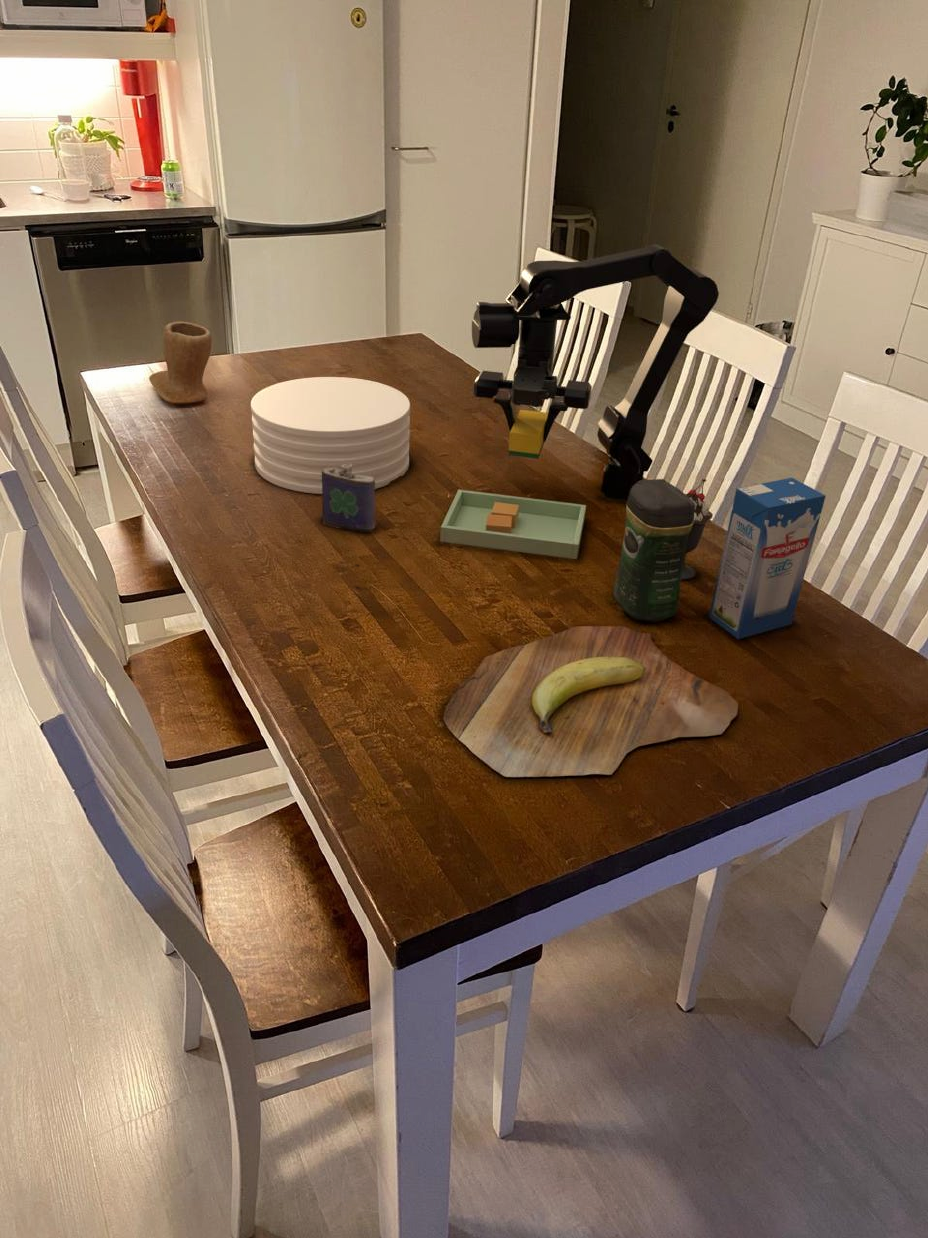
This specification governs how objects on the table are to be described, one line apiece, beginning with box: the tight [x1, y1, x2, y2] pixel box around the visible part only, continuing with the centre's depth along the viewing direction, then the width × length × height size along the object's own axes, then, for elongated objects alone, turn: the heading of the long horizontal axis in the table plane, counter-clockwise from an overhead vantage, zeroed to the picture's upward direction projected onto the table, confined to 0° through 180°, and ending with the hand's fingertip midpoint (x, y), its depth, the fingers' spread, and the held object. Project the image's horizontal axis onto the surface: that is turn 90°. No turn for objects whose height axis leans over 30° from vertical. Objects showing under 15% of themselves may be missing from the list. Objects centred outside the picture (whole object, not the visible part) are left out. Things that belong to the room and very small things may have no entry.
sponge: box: [507, 409, 548, 460], centre depth 163 cm, size 5×11×4 cm, turn 168°
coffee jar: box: [613, 478, 695, 623], centre depth 135 cm, size 10×8×19 cm
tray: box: [439, 489, 587, 560], centre depth 157 cm, size 22×15×3 cm
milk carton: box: [708, 477, 827, 640], centre depth 133 cm, size 10×6×20 cm, turn 117°
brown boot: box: [148, 321, 213, 404], centre depth 201 cm, size 15×12×15 cm
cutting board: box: [442, 625, 739, 778], centre depth 119 cm, size 35×27×4 cm
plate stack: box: [250, 376, 411, 495], centre depth 176 cm, size 28×28×12 cm
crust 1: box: [491, 502, 519, 529], centre depth 159 cm, size 4×4×2 cm
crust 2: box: [486, 514, 512, 534], centre depth 156 cm, size 4×4×2 cm
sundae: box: [681, 478, 713, 581], centre depth 146 cm, size 7×7×15 cm
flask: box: [321, 463, 376, 534], centre depth 155 cm, size 9×3×11 cm, turn 68°
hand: (528, 439), depth 163 cm, fingers closed on sponge, 5 cm apart
